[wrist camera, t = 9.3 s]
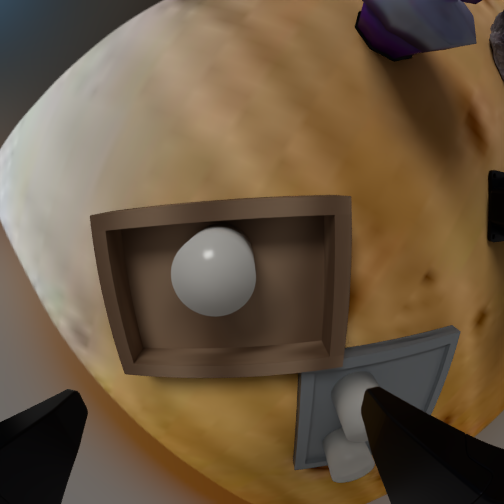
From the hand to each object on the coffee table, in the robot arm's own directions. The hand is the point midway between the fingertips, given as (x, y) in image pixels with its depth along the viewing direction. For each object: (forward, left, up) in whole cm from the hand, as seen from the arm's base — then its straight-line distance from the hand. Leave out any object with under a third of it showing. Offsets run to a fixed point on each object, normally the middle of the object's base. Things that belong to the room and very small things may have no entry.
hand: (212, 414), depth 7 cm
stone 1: (0, -2, -11) cm, 11 cm away
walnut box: (0, 0, -12) cm, 12 cm away
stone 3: (-9, +17, -11) cm, 22 cm away
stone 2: (-9, +10, -11) cm, 18 cm away
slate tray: (-12, +14, -12) cm, 22 cm away
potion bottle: (-13, -19, -12) cm, 26 cm away
